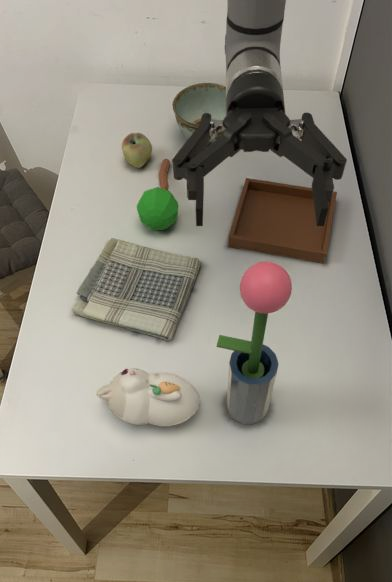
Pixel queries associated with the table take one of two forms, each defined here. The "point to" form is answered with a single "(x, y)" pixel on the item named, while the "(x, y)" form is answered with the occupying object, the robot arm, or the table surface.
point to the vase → (250, 387)
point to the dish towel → (137, 288)
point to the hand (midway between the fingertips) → (260, 218)
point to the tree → (158, 203)
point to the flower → (259, 310)
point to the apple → (136, 149)
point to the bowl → (199, 106)
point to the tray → (280, 221)
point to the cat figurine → (150, 397)
